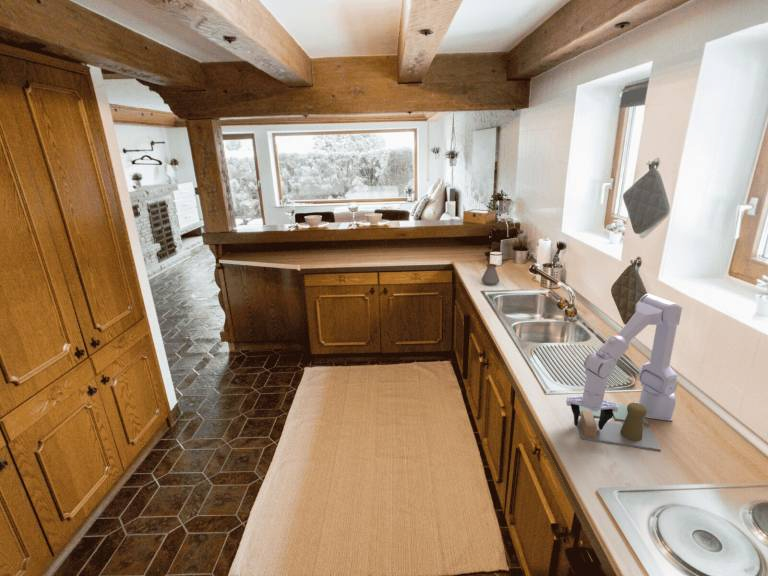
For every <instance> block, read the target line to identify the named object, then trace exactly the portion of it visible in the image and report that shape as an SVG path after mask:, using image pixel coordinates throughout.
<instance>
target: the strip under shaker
mask: <svg viewBox="0 0 768 576" xmlns="http://www.w3.org/2000/svg"><path fill="white" fill-rule="evenodd" d="M598 423H599V420H597V419H596V420H595V417H593V414H592V411H586V410H582V412H581V415H580V416H579V418H578V425H577V427H578V432H579V435H580V439H581V440H585V441H586V440H587V441H591V442H597V443H598V442H599V443H605V444H612V445H618V446H625V447H632V448H638V449H645V450H651V451H658V452H661V451H662V449H661V446H660V444H659V442H658V441H657V438H656V437H655V434H654V433H653V430H652V429H651V427H646V426H643V434H642V440H640V441H631V440H629V439H626V438H625V437H623V436H622V435H621V433H620V431H621V428H622V426H623V423H617V422H611V421H609V422H608V421H607V422H606V424H605V425H604V427H603V429H602V430H600V429H599V426H598Z"/></svg>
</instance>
